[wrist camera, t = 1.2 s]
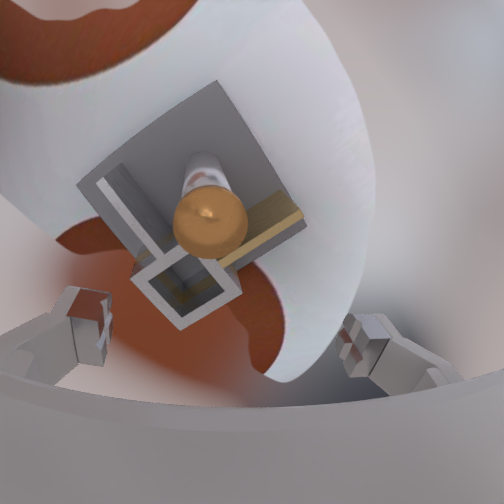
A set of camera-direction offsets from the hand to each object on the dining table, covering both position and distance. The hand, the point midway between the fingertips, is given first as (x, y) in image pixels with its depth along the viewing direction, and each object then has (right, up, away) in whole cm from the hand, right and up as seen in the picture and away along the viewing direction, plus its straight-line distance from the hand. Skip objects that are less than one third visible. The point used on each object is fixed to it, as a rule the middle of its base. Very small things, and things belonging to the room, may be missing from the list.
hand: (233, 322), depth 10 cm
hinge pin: (-5, +12, +26) cm, 29 cm away
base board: (-7, +9, +28) cm, 31 cm away
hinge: (-6, +8, +27) cm, 29 cm away
